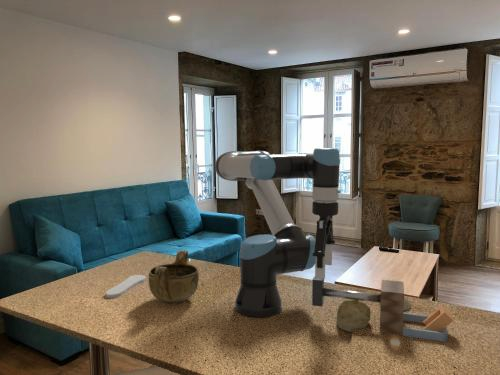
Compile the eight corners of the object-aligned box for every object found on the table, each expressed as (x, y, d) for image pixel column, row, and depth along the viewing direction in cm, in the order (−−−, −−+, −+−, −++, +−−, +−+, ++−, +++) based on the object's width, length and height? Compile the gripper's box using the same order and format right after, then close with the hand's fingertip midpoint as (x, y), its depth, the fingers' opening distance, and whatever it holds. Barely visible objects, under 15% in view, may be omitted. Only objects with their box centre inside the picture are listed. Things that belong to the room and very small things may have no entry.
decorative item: (342, 343, 115) (364, 326, 110) (324, 312, 121) (344, 294, 115) (361, 336, 122) (383, 319, 116) (343, 307, 127) (364, 290, 121)
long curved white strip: (149, 279, 163) (148, 275, 162) (117, 300, 141) (117, 295, 141) (133, 278, 164) (133, 274, 164) (100, 298, 143) (100, 293, 143)
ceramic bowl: (164, 287, 152) (163, 248, 151) (207, 290, 149) (207, 250, 147) (136, 311, 130) (134, 266, 129) (186, 315, 127) (185, 269, 125)
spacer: (424, 329, 111) (444, 312, 109) (423, 321, 116) (442, 305, 114) (433, 337, 110) (453, 320, 108) (431, 329, 115) (450, 313, 113)
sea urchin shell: (415, 310, 125) (396, 291, 126) (395, 326, 127) (377, 307, 128) (410, 299, 134) (393, 282, 135) (392, 314, 136) (375, 296, 137)
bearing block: (379, 336, 113) (380, 291, 111) (380, 321, 122) (381, 279, 121) (402, 339, 111) (404, 293, 109) (401, 324, 120) (403, 281, 119)
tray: (402, 340, 110) (403, 328, 110) (401, 323, 121) (402, 312, 120) (447, 346, 107) (447, 334, 106) (442, 329, 117) (443, 317, 117)
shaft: (312, 305, 122) (312, 279, 121) (313, 301, 125) (314, 276, 124) (387, 314, 115) (388, 287, 114) (387, 310, 118) (388, 284, 117)
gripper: (332, 208, 106) (330, 286, 109) (343, 196, 129) (341, 260, 132) (303, 206, 109) (302, 283, 111) (319, 194, 132) (318, 258, 134)
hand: (323, 271), depth 122 cm, fingers open, 13 cm apart
